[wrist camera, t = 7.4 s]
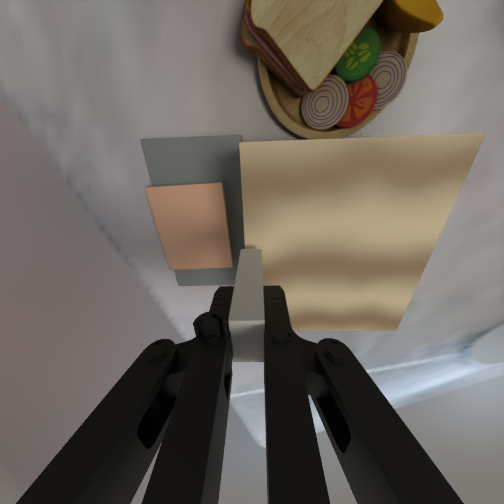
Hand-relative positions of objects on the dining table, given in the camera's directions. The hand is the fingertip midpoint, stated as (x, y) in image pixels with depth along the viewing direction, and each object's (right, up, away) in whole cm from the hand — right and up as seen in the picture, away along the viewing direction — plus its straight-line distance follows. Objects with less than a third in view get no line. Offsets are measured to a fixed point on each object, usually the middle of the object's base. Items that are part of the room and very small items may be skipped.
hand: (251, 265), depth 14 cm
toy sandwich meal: (+6, +18, +2) cm, 19 cm away
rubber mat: (-6, +4, +9) cm, 12 cm away
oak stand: (+7, +5, +9) cm, 12 cm away
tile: (-7, +3, +7) cm, 11 cm away
